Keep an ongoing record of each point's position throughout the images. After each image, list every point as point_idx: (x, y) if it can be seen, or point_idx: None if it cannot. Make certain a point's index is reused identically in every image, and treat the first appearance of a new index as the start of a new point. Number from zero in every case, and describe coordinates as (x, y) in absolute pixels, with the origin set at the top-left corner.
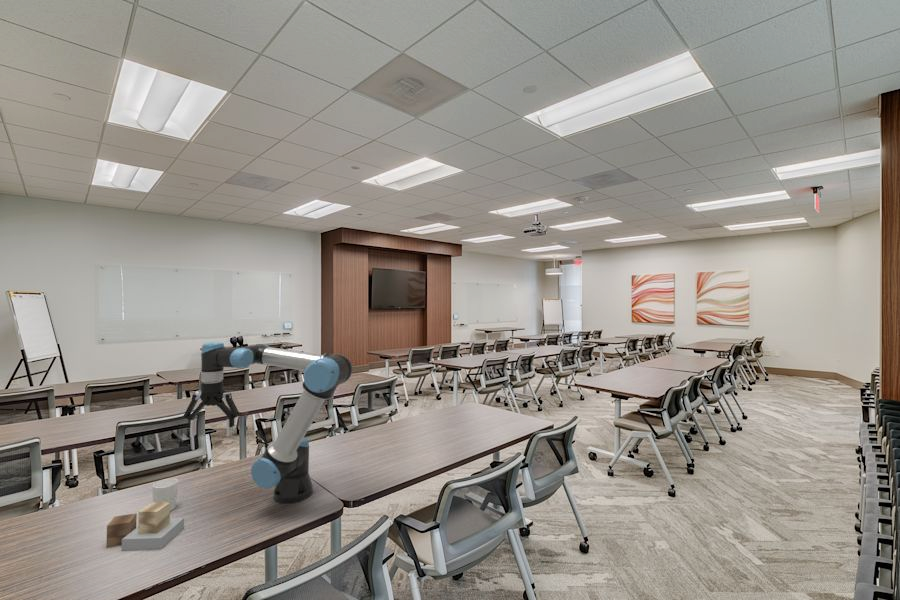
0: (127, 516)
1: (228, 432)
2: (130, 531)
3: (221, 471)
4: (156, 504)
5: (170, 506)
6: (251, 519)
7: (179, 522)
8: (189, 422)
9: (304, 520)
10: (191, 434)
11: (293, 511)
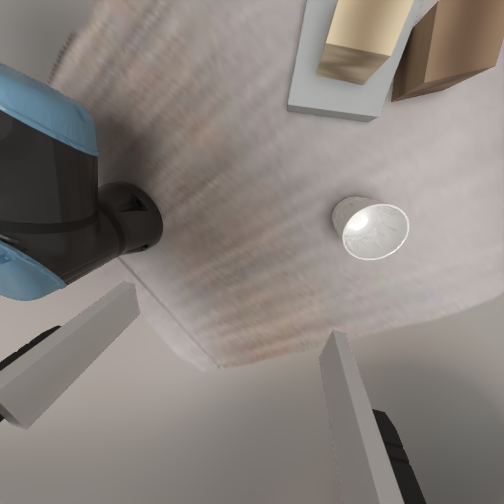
0: (451, 58)
1: (105, 296)
2: (414, 34)
3: (286, 335)
4: (372, 28)
5: (340, 204)
6: (162, 124)
7: (292, 80)
8: (407, 486)
9: None
10: (342, 345)
11: (99, 144)
